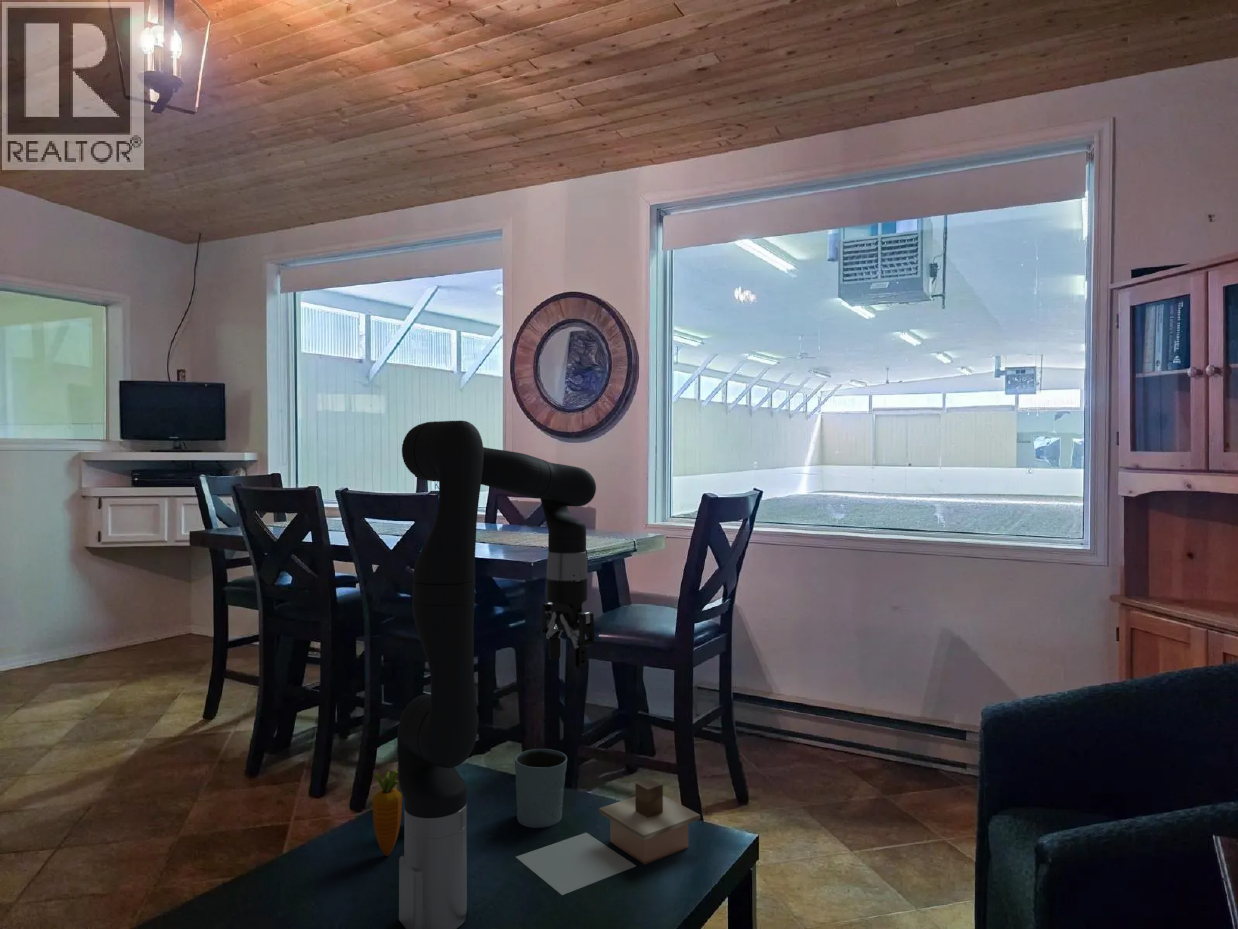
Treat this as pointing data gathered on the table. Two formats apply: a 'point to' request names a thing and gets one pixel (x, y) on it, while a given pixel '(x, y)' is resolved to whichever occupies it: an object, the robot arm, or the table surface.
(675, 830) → the open square box
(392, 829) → the carrot
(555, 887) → the tray
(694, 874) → the table surface
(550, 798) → the grey cup
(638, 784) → the lid
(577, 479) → the robot arm
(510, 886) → the table surface
